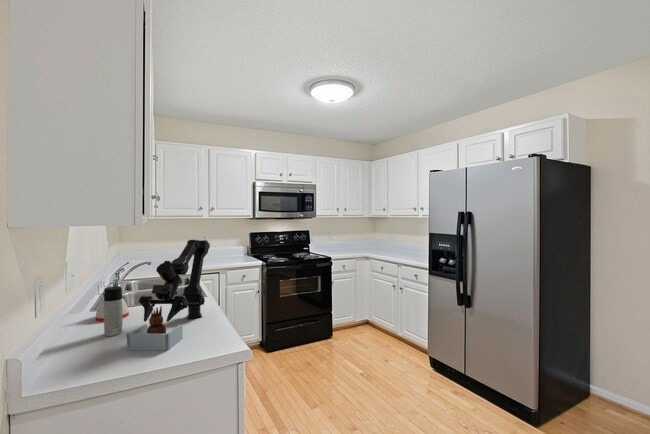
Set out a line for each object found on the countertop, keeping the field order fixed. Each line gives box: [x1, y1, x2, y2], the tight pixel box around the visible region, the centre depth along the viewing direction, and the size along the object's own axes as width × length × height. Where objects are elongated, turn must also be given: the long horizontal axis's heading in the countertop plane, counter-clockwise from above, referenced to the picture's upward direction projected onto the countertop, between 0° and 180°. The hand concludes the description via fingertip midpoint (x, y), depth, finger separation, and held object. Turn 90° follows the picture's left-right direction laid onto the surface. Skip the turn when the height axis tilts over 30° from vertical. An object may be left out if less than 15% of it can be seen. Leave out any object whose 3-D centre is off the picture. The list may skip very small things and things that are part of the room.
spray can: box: [103, 285, 124, 337], centre depth 138 cm, size 7×7×20 cm
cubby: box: [126, 323, 183, 351], centre depth 126 cm, size 11×16×6 cm
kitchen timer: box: [95, 292, 130, 323], centre depth 161 cm, size 14×14×15 cm
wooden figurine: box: [147, 305, 167, 334], centre depth 127 cm, size 7×6×15 cm
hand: (155, 321), depth 127 cm, fingers open, 9 cm apart
